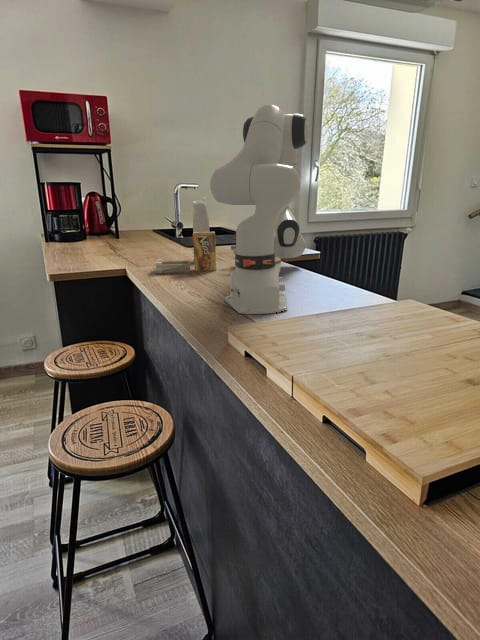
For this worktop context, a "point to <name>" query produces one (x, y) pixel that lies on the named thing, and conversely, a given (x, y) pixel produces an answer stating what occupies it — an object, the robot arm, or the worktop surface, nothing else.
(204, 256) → the candy box
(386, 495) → the worktop surface
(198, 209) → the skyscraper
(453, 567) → the worktop surface
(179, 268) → the channel
